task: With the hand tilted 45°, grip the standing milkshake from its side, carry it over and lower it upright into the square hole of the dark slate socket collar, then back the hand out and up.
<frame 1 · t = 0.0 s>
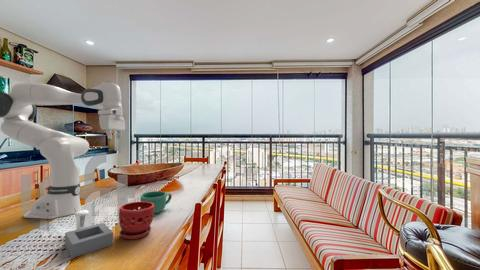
hand: (114, 138, 109), 39 cm above the table, tool pointing down, fingers open, 8 cm apart
milkshake: (80, 233, 84), on the table
plant pot: (136, 234, 85), on the table
mug: (156, 211, 111), on the table
socket collar: (88, 244, 76), on the table
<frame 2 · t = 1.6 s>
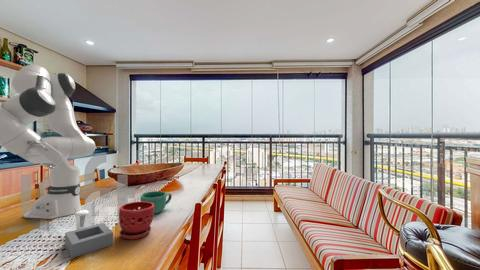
hand: (58, 167, 78), 28 cm above the table, tool tilted 45°, fingers open, 8 cm apart
nothing on the table moved.
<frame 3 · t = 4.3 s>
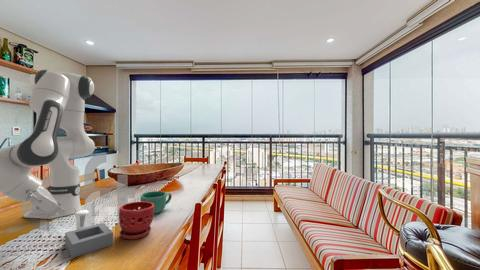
hand: (61, 209, 80), 11 cm above the table, tool tilted 45°, fingers open, 8 cm apart
nothing on the table moved.
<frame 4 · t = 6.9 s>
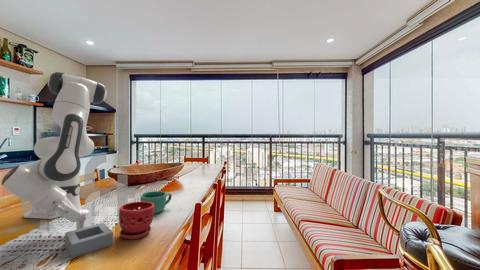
hand: (82, 218, 85), 6 cm above the table, tool tilted 45°, fingers closed on milkshake, 4 cm apart
milkshake: (80, 233, 84), on the table, touching gripper
everything else where it was.
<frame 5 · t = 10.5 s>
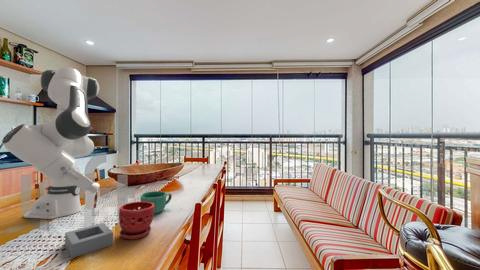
hand: (93, 190, 76), 20 cm above the table, tool tilted 45°, fingers closed on milkshake, 4 cm apart
milkshake: (90, 208, 76), point 13 cm above the table, touching gripper
everything else where it was.
when the fingers open (7 cm above the table, at t = 14.0 s): milkshake stays where it is, resting in socket collar.
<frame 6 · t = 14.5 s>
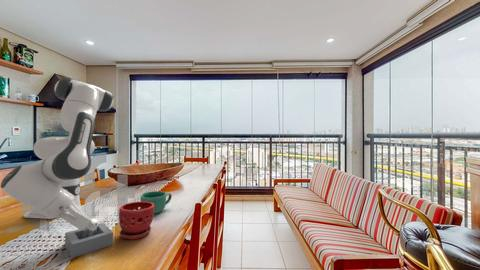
hand: (91, 224, 76), 7 cm above the table, tool tilted 45°, fingers open, 8 cm apart
milkshake: (88, 244, 76), resting in socket collar
everything else where it was.
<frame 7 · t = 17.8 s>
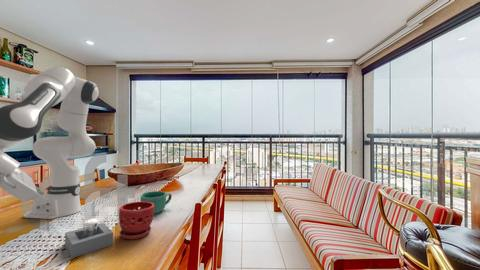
hand: (43, 198, 66), 20 cm above the table, tool tilted 45°, fingers open, 8 cm apart
nothing on the table moved.
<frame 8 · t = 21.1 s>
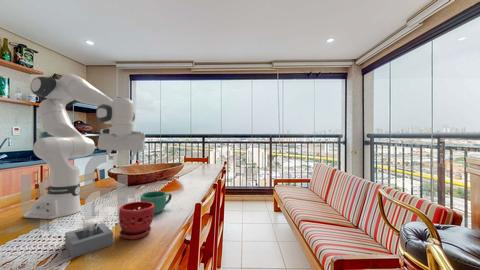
hand: (121, 159, 98), 29 cm above the table, tool pointing down, fingers open, 8 cm apart
nothing on the table moved.
at the end: milkshake 0.4 cm off-centre on the socket collar, point 0.0 cm above the socket collar's base; milkshake tilted 0°; the gripper is holding nothing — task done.
